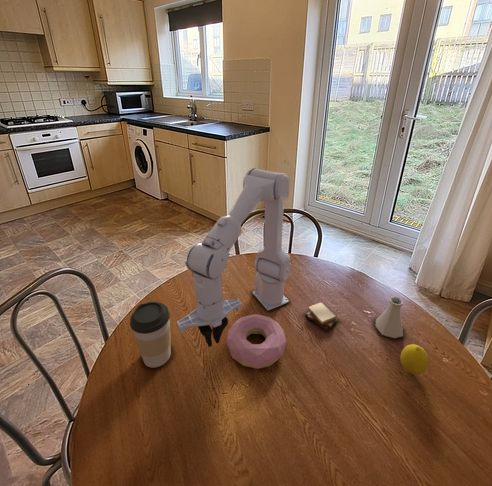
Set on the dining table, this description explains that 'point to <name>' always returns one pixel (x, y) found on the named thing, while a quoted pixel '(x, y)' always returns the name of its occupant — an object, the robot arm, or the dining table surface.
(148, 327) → the coffee cup
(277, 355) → the donut
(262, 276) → the robot arm
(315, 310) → the letter pile
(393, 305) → the flask
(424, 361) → the lemon
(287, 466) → the dining table surface
